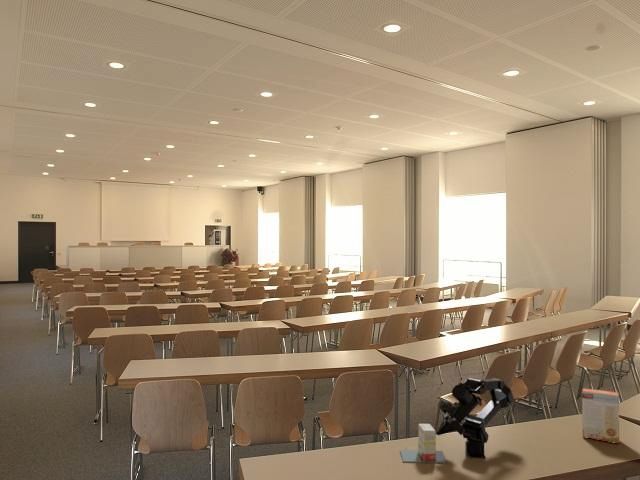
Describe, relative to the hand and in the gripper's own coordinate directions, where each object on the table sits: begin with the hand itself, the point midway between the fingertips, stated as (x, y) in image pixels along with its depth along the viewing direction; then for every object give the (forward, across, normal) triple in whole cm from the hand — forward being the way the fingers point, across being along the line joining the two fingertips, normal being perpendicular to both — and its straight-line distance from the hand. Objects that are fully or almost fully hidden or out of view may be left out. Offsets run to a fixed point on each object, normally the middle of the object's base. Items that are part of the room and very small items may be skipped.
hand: (437, 434), depth 199 cm
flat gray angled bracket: (+10, 0, +2) cm, 11 cm away
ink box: (+9, 0, +4) cm, 10 cm away
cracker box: (-47, -22, +60) cm, 79 cm away
